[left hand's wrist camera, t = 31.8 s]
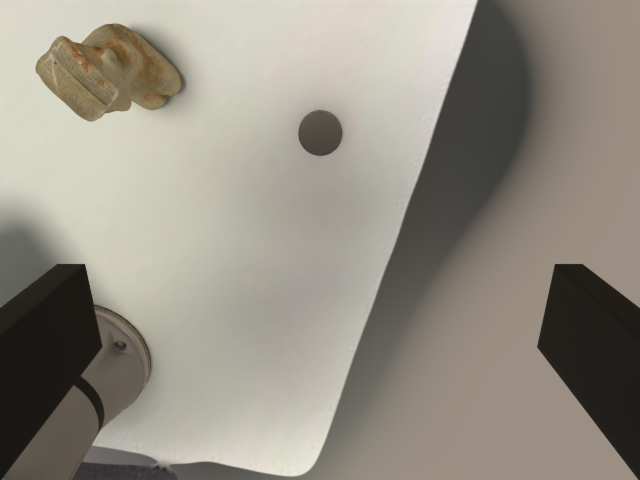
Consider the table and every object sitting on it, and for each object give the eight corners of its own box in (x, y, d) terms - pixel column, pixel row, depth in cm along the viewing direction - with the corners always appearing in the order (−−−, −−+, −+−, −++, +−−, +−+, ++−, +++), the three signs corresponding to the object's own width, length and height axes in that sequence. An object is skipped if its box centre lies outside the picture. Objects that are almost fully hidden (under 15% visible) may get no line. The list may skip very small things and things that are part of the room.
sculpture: (151, 118, 44) (73, 143, 30) (97, 54, 42) (-14, 50, 28) (195, 81, 43) (135, 90, 29) (142, 13, 41) (49, -12, 27)
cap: (346, 145, 45) (347, 147, 44) (307, 158, 46) (306, 161, 44) (333, 104, 44) (334, 105, 42) (293, 118, 44) (292, 119, 43)
